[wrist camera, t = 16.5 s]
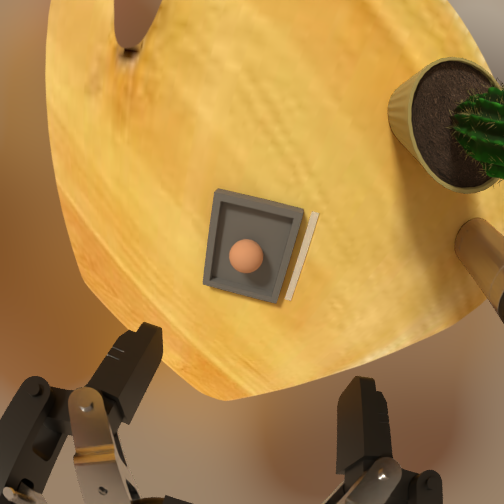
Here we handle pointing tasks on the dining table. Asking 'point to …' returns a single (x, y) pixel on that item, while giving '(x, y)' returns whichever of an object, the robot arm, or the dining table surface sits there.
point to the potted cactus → (452, 123)
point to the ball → (246, 256)
